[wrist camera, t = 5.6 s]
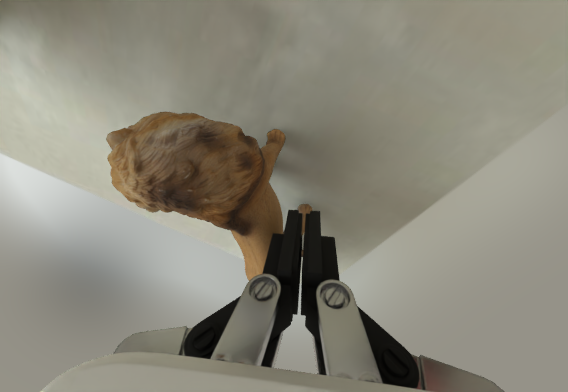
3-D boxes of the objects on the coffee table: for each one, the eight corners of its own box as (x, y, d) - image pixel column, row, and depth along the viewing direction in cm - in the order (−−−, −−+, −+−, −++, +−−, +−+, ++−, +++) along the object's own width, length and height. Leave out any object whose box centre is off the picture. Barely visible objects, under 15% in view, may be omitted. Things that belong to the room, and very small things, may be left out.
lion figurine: (195, 109, 15) (48, 164, 8) (257, 69, 12) (128, 93, 5) (288, 254, 21) (255, 363, 13) (342, 246, 18) (337, 372, 11)
